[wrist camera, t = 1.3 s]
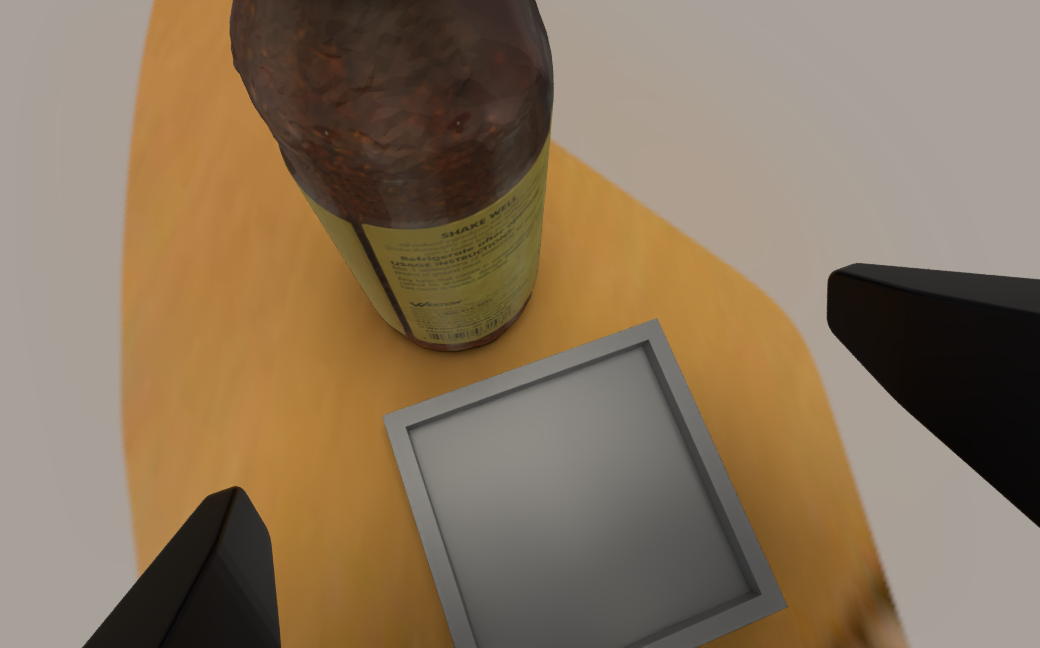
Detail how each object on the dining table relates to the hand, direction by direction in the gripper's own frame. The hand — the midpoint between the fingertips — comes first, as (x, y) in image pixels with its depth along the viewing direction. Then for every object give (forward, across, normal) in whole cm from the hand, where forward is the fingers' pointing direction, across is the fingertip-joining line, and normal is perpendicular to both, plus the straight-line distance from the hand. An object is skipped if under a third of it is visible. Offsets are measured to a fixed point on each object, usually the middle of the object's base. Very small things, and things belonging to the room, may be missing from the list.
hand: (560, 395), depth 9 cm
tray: (+8, -1, +11) cm, 14 cm away
